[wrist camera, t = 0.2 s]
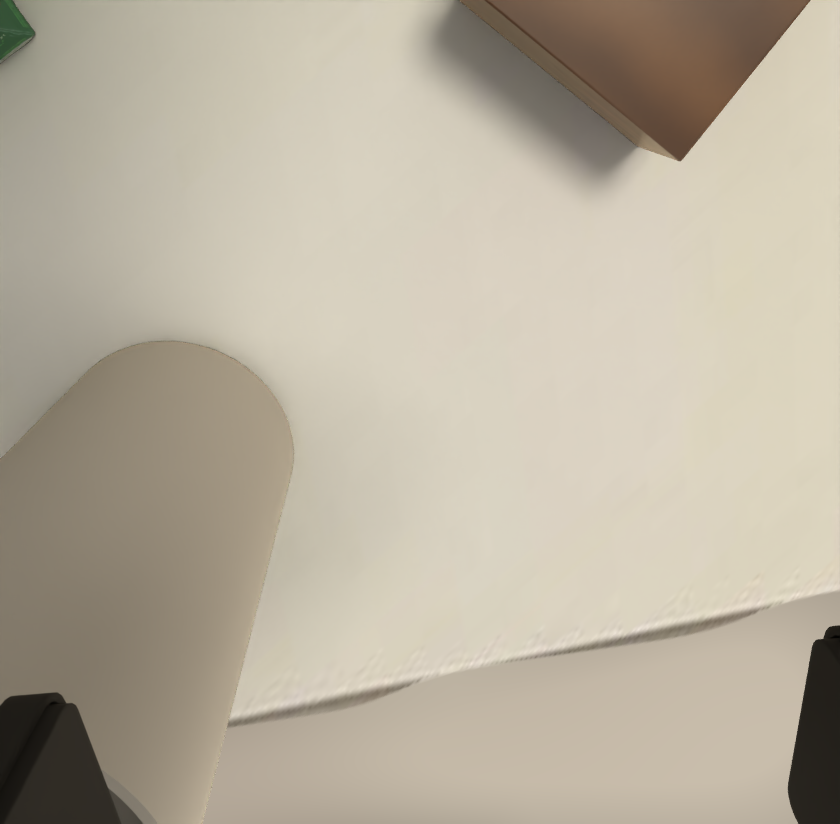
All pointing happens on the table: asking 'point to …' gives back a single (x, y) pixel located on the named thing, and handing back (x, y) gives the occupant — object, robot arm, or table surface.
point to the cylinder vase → (143, 561)
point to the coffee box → (12, 29)
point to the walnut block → (646, 56)
